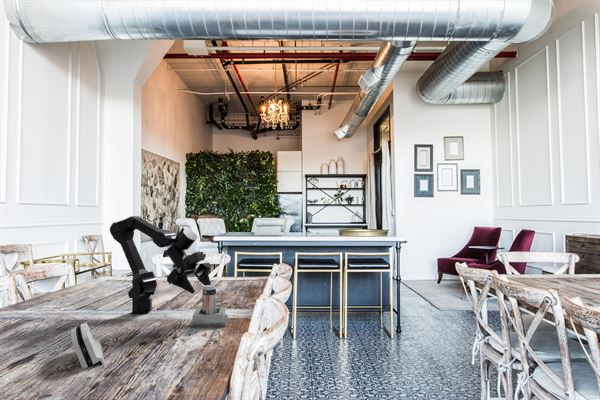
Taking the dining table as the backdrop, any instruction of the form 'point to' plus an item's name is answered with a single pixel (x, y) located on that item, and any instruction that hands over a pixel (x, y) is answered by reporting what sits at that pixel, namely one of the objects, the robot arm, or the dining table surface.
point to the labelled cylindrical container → (209, 299)
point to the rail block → (209, 318)
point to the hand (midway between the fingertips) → (202, 290)
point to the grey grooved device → (86, 346)
